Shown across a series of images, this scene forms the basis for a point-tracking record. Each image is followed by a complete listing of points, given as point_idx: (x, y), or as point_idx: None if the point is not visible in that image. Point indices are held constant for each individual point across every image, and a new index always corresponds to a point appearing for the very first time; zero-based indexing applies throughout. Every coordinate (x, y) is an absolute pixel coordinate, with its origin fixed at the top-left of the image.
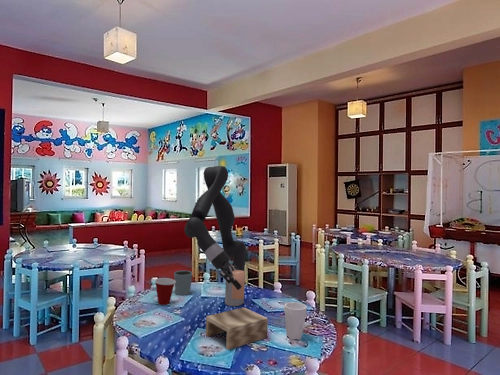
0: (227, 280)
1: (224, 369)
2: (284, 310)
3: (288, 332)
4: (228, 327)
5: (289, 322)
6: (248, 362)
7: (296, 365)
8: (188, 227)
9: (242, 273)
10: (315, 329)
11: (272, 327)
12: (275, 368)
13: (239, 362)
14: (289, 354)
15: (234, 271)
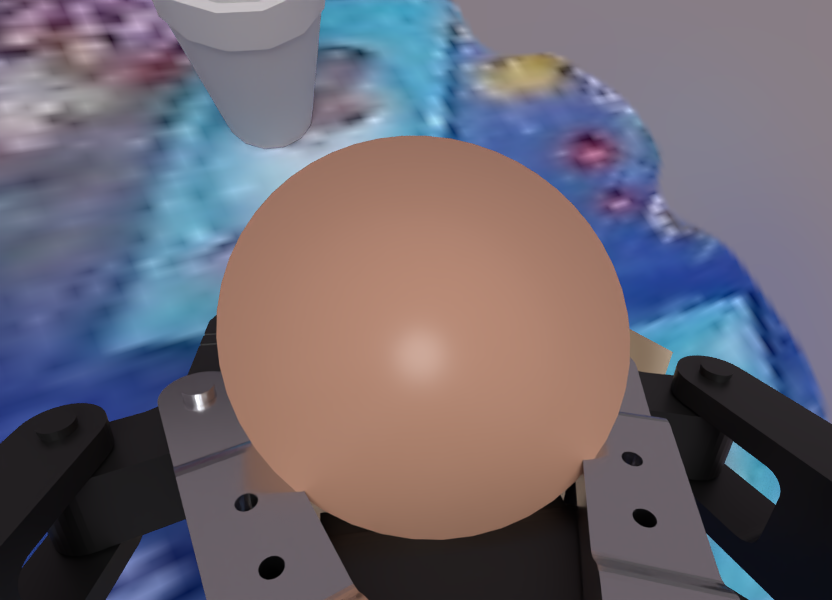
0: (745, 484)
1: (767, 312)
2: (274, 40)
3: (304, 113)
4: (656, 367)
5: (313, 59)
6: (653, 240)
7: (561, 64)
8: None
9: (519, 169)
10: (113, 30)
11: (174, 250)
12: (631, 129)
13: (677, 276)
14: (483, 102)
15: (489, 446)
